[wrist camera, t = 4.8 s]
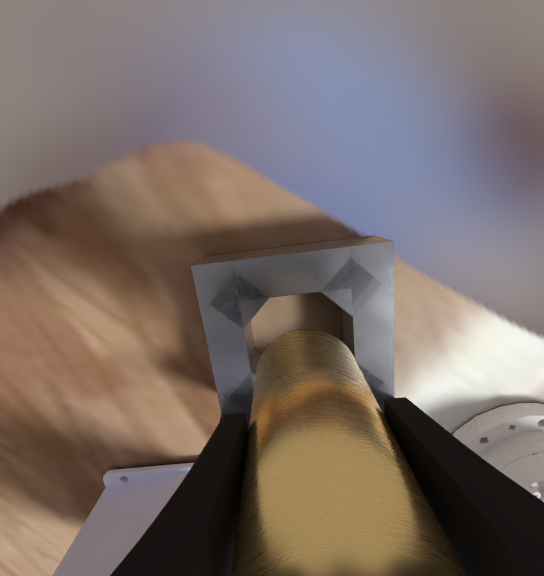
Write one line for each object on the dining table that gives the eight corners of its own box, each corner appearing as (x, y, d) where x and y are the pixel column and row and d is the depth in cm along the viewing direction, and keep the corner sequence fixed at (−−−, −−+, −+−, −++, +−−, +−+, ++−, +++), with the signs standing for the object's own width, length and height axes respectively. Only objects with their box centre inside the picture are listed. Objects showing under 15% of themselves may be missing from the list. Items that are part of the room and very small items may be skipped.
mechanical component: (532, 369, 17) (401, 460, 19) (619, 424, 13) (437, 533, 15) (611, 462, 19) (484, 535, 21) (708, 535, 15) (537, 618, 17)
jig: (231, 398, 17) (217, 461, 13) (204, 256, 15) (175, 276, 11) (377, 383, 17) (412, 444, 13) (374, 235, 15) (415, 247, 10)
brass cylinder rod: (266, 424, 12) (253, 715, 5) (246, 338, 11) (195, 566, 4) (361, 410, 12) (482, 698, 5) (351, 321, 10) (490, 534, 4)
